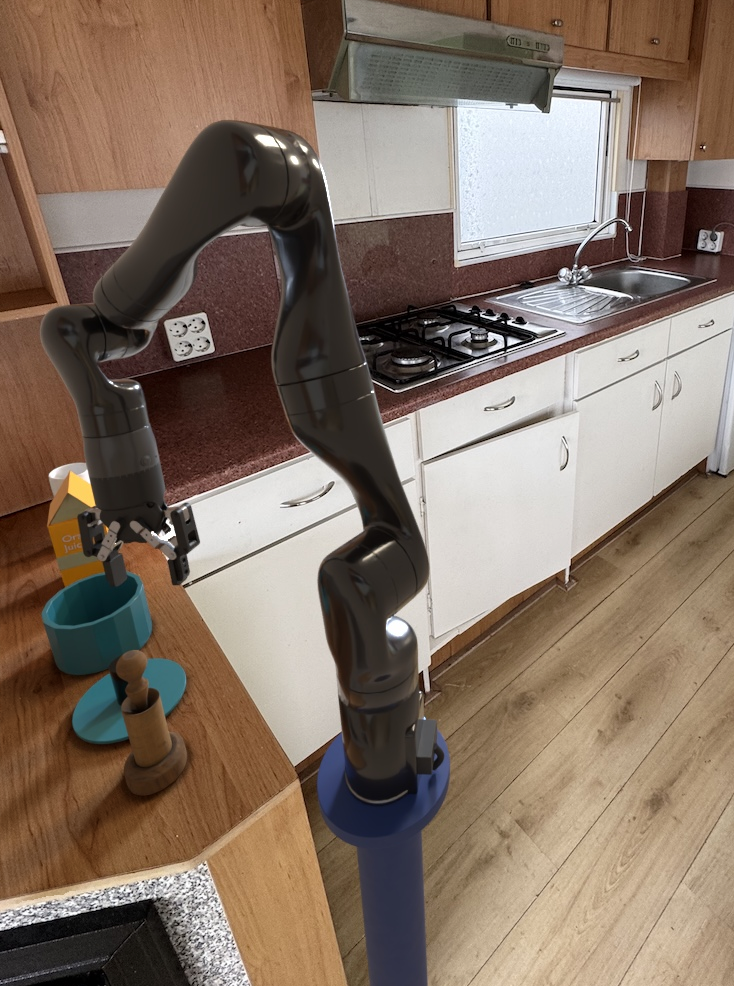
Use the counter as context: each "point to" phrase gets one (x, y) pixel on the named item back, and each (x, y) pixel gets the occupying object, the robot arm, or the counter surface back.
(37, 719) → the counter surface
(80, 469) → the drinking glass
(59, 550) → the orange juice
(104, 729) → the lid
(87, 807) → the counter surface
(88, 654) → the pot
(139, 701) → the mortar and pestle
